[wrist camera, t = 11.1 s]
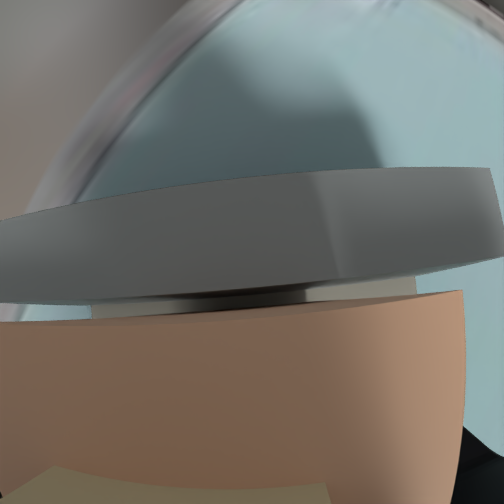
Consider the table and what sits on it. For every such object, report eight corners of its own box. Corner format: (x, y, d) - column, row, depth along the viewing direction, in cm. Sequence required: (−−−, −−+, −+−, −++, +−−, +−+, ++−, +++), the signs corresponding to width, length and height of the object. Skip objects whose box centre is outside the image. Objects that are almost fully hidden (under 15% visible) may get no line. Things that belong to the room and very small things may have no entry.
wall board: (415, 400, 16) (503, 455, 7) (112, 421, 16) (24, 479, 8) (399, 212, 17) (483, 147, 9) (96, 243, 18) (-6, 204, 9)
